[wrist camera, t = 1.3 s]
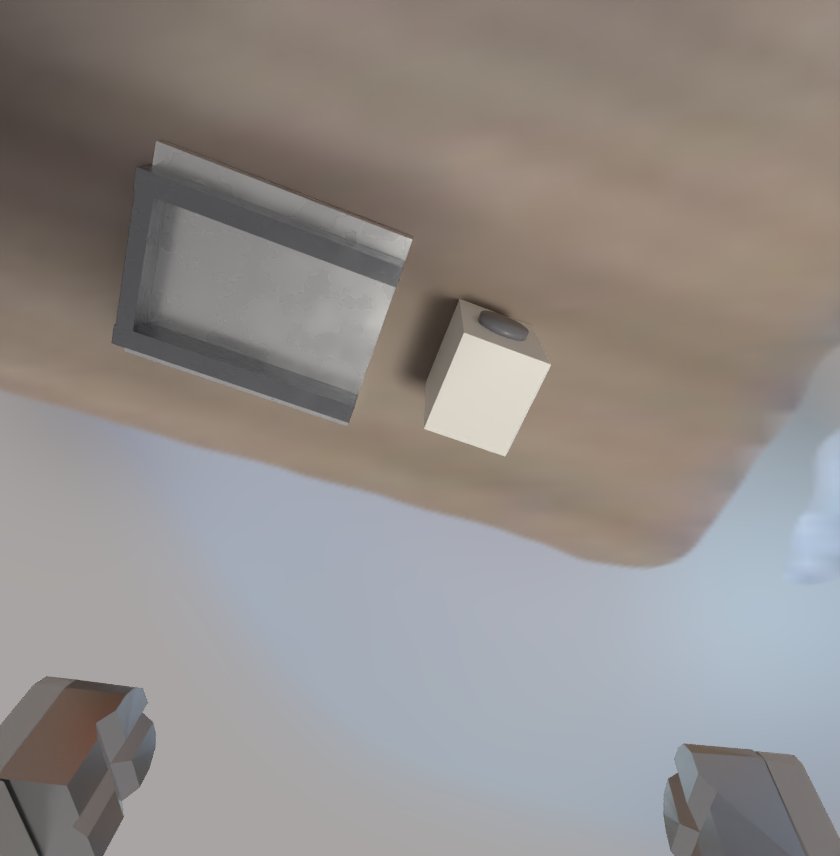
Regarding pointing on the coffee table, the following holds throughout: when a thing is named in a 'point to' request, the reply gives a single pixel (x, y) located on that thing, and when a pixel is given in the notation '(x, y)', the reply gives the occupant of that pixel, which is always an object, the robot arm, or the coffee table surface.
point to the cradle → (254, 283)
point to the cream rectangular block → (484, 378)
